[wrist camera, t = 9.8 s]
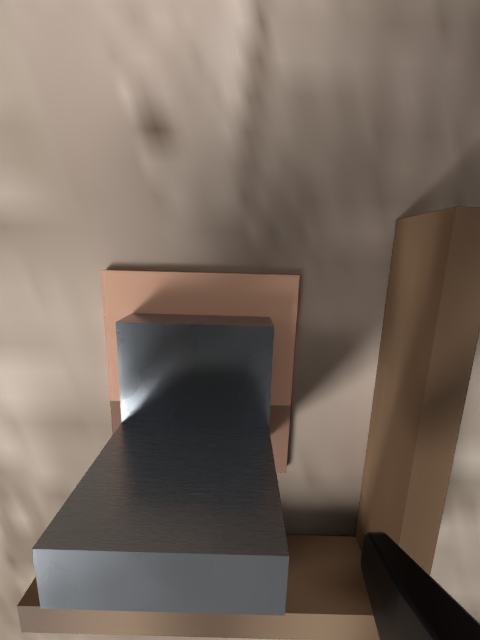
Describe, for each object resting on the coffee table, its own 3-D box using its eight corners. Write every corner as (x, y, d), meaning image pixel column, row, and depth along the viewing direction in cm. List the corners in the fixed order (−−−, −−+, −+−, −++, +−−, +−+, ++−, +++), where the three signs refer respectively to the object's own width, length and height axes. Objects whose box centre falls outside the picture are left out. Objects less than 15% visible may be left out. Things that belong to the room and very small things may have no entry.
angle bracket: (263, 439, 12) (284, 615, 6) (138, 436, 12) (40, 608, 6) (270, 316, 11) (301, 389, 5) (132, 312, 11) (6, 380, 5)
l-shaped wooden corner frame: (431, 220, 11) (504, 207, 8) (378, 559, 14) (416, 642, 11) (29, 209, 11) (-53, 193, 8) (68, 551, 14) (21, 631, 11)
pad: (298, 275, 11) (299, 275, 11) (285, 467, 13) (286, 472, 12) (104, 270, 11) (101, 270, 11) (118, 463, 13) (115, 468, 12)
